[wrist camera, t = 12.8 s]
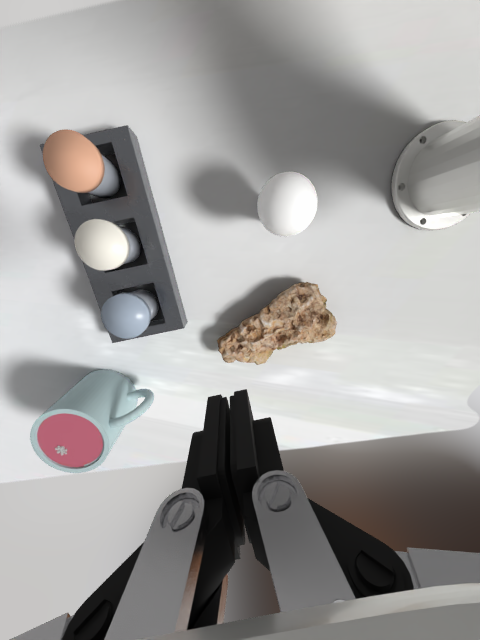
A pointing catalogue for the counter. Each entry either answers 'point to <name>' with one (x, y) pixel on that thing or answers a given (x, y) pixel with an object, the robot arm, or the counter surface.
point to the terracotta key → (79, 165)
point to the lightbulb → (287, 203)
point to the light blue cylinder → (129, 313)
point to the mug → (87, 421)
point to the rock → (280, 326)
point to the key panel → (121, 212)
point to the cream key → (106, 244)
